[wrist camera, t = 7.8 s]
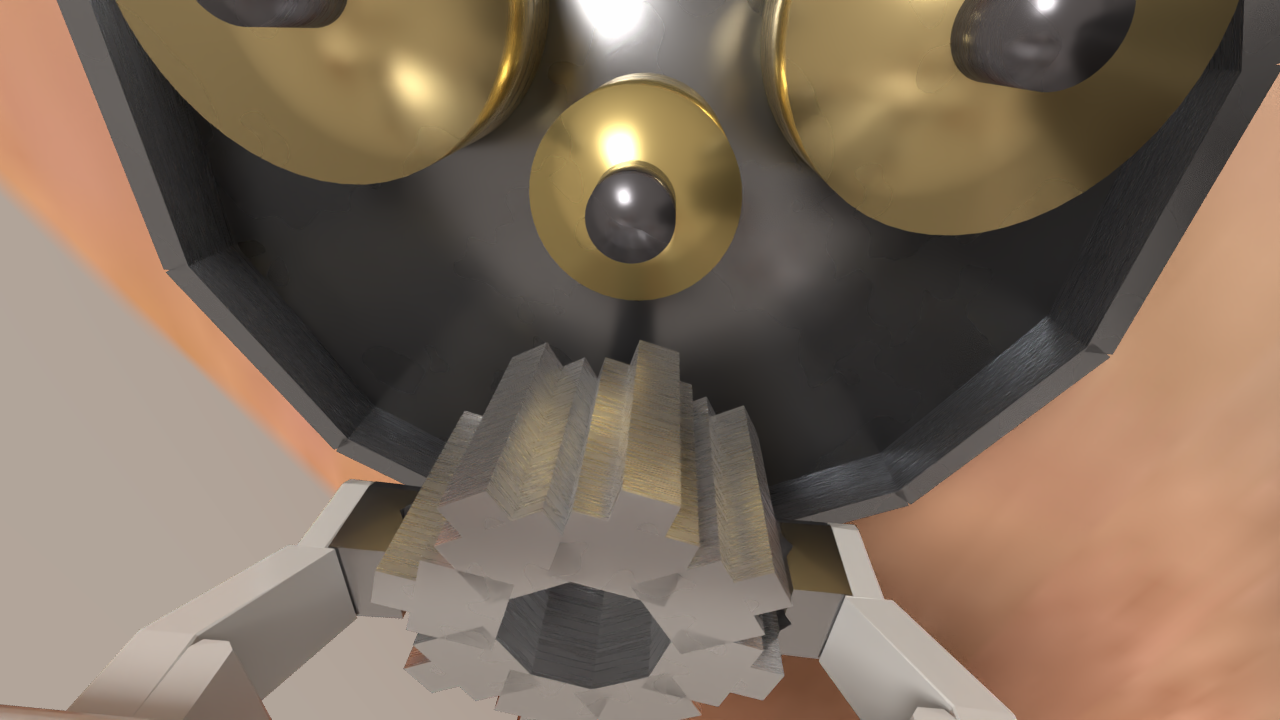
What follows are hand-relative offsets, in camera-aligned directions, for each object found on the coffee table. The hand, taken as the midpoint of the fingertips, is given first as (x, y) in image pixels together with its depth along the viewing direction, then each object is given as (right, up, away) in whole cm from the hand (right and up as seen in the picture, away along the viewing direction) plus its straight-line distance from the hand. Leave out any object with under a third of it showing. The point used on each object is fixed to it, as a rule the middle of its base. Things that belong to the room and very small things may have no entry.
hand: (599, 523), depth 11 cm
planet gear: (0, +1, +1) cm, 2 cm away
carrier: (+1, +8, +2) cm, 8 cm away
